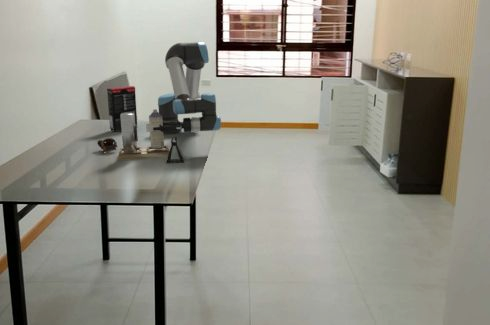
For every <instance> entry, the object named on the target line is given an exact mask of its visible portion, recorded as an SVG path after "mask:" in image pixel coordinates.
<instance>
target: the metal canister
mask: <svg viewBox="0 0 490 325" xmlns="http://www.w3.org/2000/svg"><path fill="white" fill-rule="evenodd" d="M120 118H121V129H122V130H121V136H122V137H121V138H122V139H121V140H122V148H123V151H124V153H131V152H137V147H138V141H139V139H138V138H139V136H138V123H137V124H135V116H134V113H123V114H120Z"/></svg>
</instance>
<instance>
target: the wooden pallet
mask: <svg viewBox="0 0 490 325" xmlns="http://www.w3.org/2000/svg"><path fill="white" fill-rule="evenodd" d="M169 151H170V147H169V145H168V144H167V145H164V148H162V149H151V146H146V148H142V147H140V146H139V147H138V146H137V152H131V153H124V151H123V147H122V148H119V150H118V154H117V156H118V161H119V160H120V161H129V160H131V161H132V160H133V161H134V160H143V159H145V160H146V159H156V158H157V159H158V158H168V154H169Z"/></svg>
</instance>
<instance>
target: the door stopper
mask: <svg viewBox="0 0 490 325" xmlns="http://www.w3.org/2000/svg"><path fill="white" fill-rule="evenodd" d="M174 147H175V150H176V153H177V154H178V157H179V158H172V154H173V150H174ZM169 149H170V151H169V154H168V157H166V162H165V163H166V164H181V163H182V164H183V163H185V160H186V158H185V156H184V154H183V150H182V149H181V147H180V145H179V140H178V137H177V136H172V138H171V140H170V147H169Z"/></svg>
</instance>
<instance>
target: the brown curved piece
mask: <svg viewBox="0 0 490 325" xmlns="http://www.w3.org/2000/svg"><path fill="white" fill-rule="evenodd" d="M117 144H118V143H117V142H116V140H115V139H114V138H112V137H106V138H104V139H103V140H102V139H100V140H97V145H98V147H99V148H101V150H102V149H103V150H102V153H103V152H106V153H107V152H110V151H114V150H117V148H118V145H117Z"/></svg>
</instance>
